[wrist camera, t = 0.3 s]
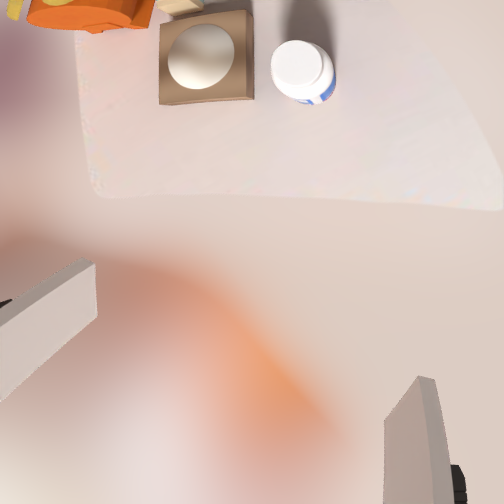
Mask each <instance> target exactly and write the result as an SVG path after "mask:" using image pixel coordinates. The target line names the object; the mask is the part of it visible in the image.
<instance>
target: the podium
mask: <svg viewBox="0 0 504 504" xmlns="http://www.w3.org/2000/svg"><path fill="white" fill-rule="evenodd" d="M249 99H254V33H253V17H252V16H251V15H250V13H249V12H248V11H247V10H246V9H241V10H233V11H226V12H219V13H212V14H206V15H201V16H195V17H190V18H185V19H180V20H176V21H171V22H167V23H163V24H160V42H159V104H160V105H181V104H191V103H201V102H214V101H228V100H249Z"/></svg>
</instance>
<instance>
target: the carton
mask: <svg viewBox="0 0 504 504" xmlns="http://www.w3.org/2000/svg"><path fill="white" fill-rule="evenodd" d="M156 1H157V8H158V9H160V10H162V11H164V12H166V13H168V14H170V15H171V16H178V15H182V14H187V13H192V12H197V11H203V8H204V0H156Z"/></svg>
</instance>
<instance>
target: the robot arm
mask: <svg viewBox="0 0 504 504" xmlns="http://www.w3.org/2000/svg"><path fill="white" fill-rule="evenodd" d="M96 317H97V301H96V278H95V263H94V262H91V261H89V260H87V259H85V258H80V259H78V260H77V261H75V262H74V263H71V264H70V265H68V266H66V267H65V268H63V269H62V270H60V271H58V272H56V273H55V274H53V275H52V276H50V277H48V278H47V279H45V280H44V281H42V282H40V283H39V284H37V285H36V286H34V287H32V288H31V289H29V290H28V291H26V292H25V293H23V294H21V295H20V296H18V297H17V298H15V299H14V300H12V299H10V300H6V301H3V302H0V403H1V401H3V400H4V399H5V398H6V397H7V396H8V395H9V394H10V393H11V392H12V391H13V390H15V389H16V388H17V387H18V386H19V385H20V384H21V383H22V382H23V381H24V380H25V379H27V377H29V376H30V375H31V374H32V373H33V372H34V371H35V370H36V369H38V368H39V367H40V366H41V365H42V364H43V363H44V362H45V361H46V360H48V359H49V358H50V357H51V356H52V355H53V354H54V353H56V352H57V351H58V350H59V349H60V348H61V347H62V346H64V345H65V344H66V343H67V342H68V341H69V340H70V339H71V338H73V337H74V336H75V335H76V334H77V333H78V332H80V331H81V330H82V329H83V328H84V327H86V326H87V325H88V324H89V323H90V322H91V321H93V320H94V319H95V318H96ZM384 445H385V446H384V449H385V450H384V453H385V454H384V492H383V504H467V493H466V483H465V477H464V475H463V473H462V471H461V469H460V467H459V465H450V459H449V452H448V445H447V439H446V433H445V427H444V422H443V417H442V411H441V406H440V402H439V397H438V393H437V388H436V384H435V380H434V379H431V378H426V377H422V376H418V377H417V378H416V379H415V381H414V382H413V384H412V385H411V386H410V388H409V389H408V391H407V392H406V393H405V394H404V396H403V397H402V398H401V400H400V401H399V403H398V404H397V405H396V406H395V408H394V409H393V410H392V411H391V413H390V414H389V415H388V416H387V418H386V419H385V420H384Z"/></svg>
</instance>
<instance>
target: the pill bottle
mask: <svg viewBox="0 0 504 504" xmlns="http://www.w3.org/2000/svg"><path fill="white" fill-rule="evenodd" d="M271 76H272V80H273V82H274V83H275V85H276V86H277V88H278V89H279V90H280V91H281V92H283V93H284V94H285V95H287V96H289V97H290V98H292V99H294V100H295V101H297V102H299V103H302V104H307V105H315V104H319V103H322V102H324V101H326V100H327V99H328V98H329V97H330V96H331V95H332V93H333V91H334V89H335V85H336V77H335V72H334V68H333V64H332V61H331V59H330V57H329V55H328V54H327V53H326V52H325V51H324V50H323V49H322V48H321V47H319V46H318V45H316V44H314V43H310V42H305V41H301V40H291V41H287V42H284V43H283V44H281V45H280V46H278V47H277V48H276V50H275V51H274V53H273V55H272V58H271Z"/></svg>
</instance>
